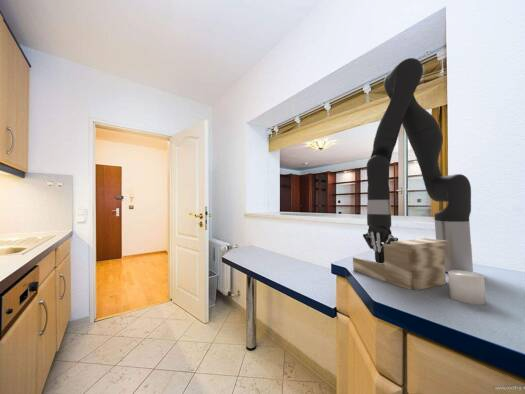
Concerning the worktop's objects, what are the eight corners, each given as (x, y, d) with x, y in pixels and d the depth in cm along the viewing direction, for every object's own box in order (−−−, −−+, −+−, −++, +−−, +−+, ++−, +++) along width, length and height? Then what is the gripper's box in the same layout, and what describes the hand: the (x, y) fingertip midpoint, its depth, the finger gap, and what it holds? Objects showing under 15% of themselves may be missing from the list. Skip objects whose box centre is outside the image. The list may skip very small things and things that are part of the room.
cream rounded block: (459, 292, 57) (457, 269, 57) (492, 301, 51) (490, 275, 51) (443, 296, 55) (442, 271, 55) (476, 306, 49) (474, 279, 49)
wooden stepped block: (385, 265, 84) (383, 233, 85) (450, 282, 64) (448, 240, 65) (352, 270, 78) (351, 236, 79) (413, 291, 58) (411, 244, 59)
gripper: (404, 213, 72) (405, 266, 71) (371, 212, 84) (372, 257, 84) (387, 213, 69) (389, 268, 69) (356, 212, 82) (357, 259, 81)
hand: (379, 262), depth 76 cm, fingers closed
